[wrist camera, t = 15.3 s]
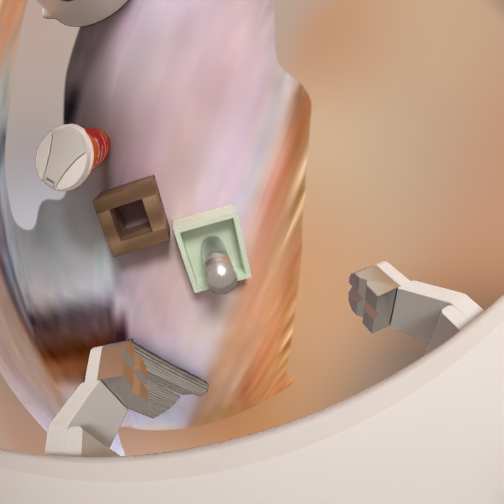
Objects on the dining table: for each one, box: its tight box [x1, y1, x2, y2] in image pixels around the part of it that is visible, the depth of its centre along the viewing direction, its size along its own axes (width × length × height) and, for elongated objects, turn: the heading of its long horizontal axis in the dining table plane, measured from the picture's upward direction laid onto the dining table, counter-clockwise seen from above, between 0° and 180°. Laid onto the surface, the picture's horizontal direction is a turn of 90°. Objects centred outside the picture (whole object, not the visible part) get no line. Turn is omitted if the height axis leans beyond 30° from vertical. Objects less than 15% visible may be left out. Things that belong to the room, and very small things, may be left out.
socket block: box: [93, 175, 170, 257], centre depth 39 cm, size 9×9×5 cm
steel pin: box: [200, 236, 238, 294], centre depth 42 cm, size 4×4×11 cm
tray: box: [173, 204, 251, 293], centre depth 46 cm, size 12×10×4 cm
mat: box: [80, 338, 209, 418], centre depth 57 cm, size 23×24×5 cm
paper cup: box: [36, 123, 110, 191], centre depth 29 cm, size 8×8×14 cm
